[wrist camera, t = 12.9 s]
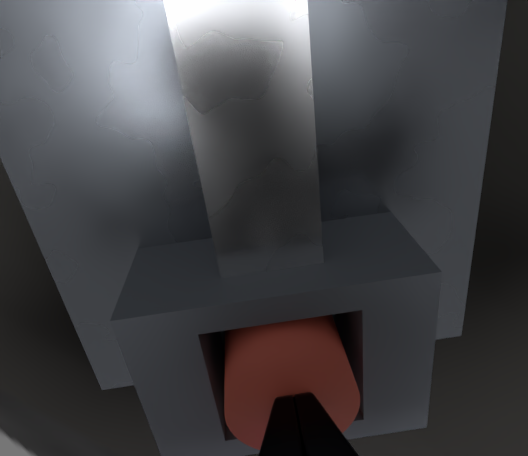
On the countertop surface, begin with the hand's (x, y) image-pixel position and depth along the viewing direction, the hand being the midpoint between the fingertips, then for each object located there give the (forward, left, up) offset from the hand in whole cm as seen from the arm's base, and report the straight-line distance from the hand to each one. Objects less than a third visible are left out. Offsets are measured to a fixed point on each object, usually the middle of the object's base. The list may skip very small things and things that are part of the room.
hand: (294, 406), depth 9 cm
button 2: (0, 0, -3) cm, 3 cm away
